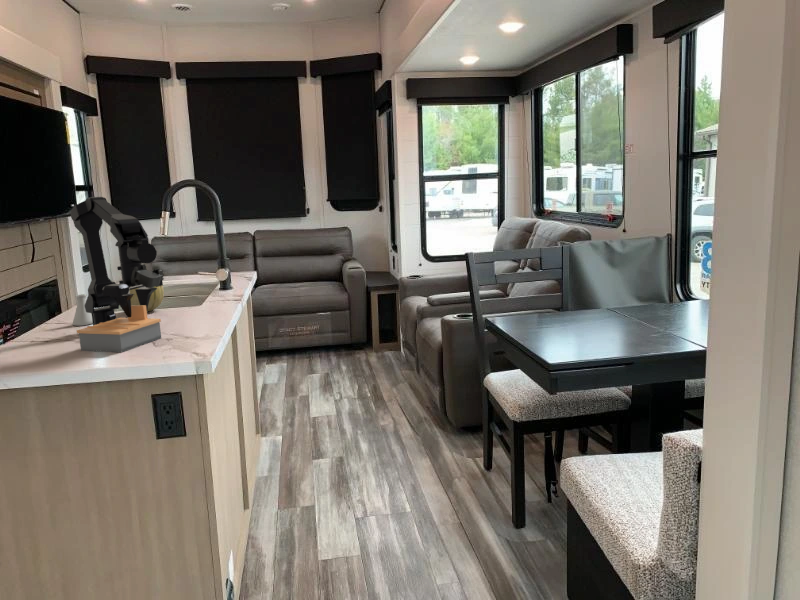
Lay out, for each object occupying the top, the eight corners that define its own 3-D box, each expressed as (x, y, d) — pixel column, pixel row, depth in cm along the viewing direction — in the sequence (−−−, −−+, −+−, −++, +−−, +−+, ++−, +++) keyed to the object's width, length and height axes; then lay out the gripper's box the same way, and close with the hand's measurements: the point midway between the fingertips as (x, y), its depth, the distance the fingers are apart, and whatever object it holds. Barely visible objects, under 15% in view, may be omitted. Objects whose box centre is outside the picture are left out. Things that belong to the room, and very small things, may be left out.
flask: (68, 326, 211) (63, 296, 209) (85, 321, 218) (81, 292, 216) (84, 326, 208) (79, 296, 207) (101, 322, 215) (97, 293, 213)
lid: (77, 335, 174) (74, 316, 173) (120, 322, 190) (118, 304, 189) (120, 336, 169) (117, 317, 169) (161, 323, 185) (159, 305, 184)
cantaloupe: (131, 309, 237) (126, 269, 235) (171, 306, 238) (166, 267, 236) (116, 317, 223) (111, 274, 220) (159, 314, 224) (154, 272, 221)
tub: (81, 350, 175) (78, 332, 174) (122, 336, 190) (120, 320, 189) (122, 352, 171) (119, 334, 170) (161, 338, 186) (159, 321, 185)
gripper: (130, 266, 172) (137, 322, 175) (174, 257, 189) (180, 309, 192) (97, 266, 175) (105, 321, 178) (144, 258, 193) (150, 308, 196)
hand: (137, 314), depth 186 cm, fingers open, 6 cm apart
